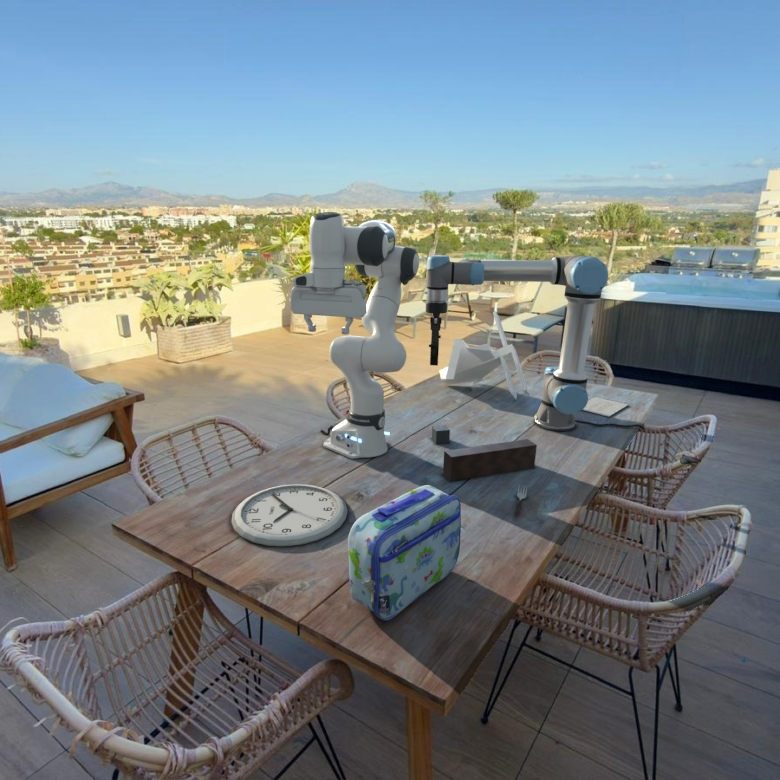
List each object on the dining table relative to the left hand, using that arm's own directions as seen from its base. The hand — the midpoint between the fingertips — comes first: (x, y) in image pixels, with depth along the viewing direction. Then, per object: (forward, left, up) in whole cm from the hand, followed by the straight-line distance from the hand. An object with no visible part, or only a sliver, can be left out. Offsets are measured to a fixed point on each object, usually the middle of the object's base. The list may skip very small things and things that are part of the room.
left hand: (328, 332), depth 137 cm
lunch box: (+40, -27, -46) cm, 66 cm away
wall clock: (-1, -16, -46) cm, 49 cm away
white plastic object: (+1, +112, -46) cm, 122 cm away
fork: (+49, +21, -46) cm, 70 cm away
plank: (+34, +37, -46) cm, 68 cm away
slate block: (+11, +50, -46) cm, 69 cm away
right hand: (+4, +57, -19) cm, 60 cm away
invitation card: (+53, +123, -46) cm, 141 cm away
